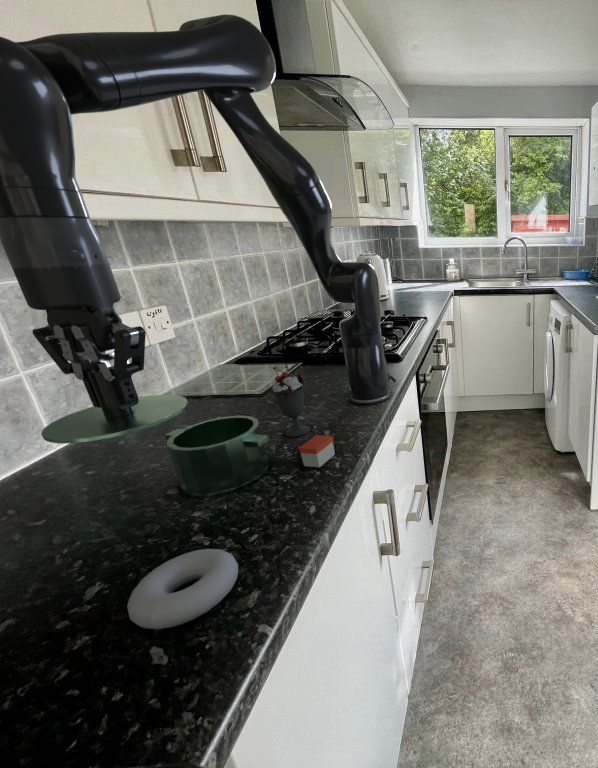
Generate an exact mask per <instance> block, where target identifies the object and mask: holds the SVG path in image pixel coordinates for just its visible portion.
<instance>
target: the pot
mask: <svg viewBox="0 0 598 768" xmlns="http://www.w3.org/2000/svg"><path fill="white" fill-rule="evenodd" d="M164 437H165V439H166V449H167V451H168V454H169V456H170V460H171V462H172V466H173V468H174V471H175V474H176V476H177V479H178V482H179V485H180V488H181V489H182V491H183V492H184V493H185V495H188V496H190V497H195V498H197V497H198V498H204V497H205V498H206V497H215V496H220V495H224V494H225V495H226V494H229V493H232V492H235V491H237V490H240V489H242V488H244V487H247V486H249V485H251V484H252V483H255V482H256V481H258V480H259V479H261V478H262V477H263V476H264V475H265V474H266V473H267V471H268V470H269V468H270V461H269V457H268V454H267V450H266V446H265V444H266V443H268V442H269V441H270V438H269V435H268V434H267V435H266V434H262V431H261V426H260V423H259V419H258V418H256V417H254V416H249V415H231V416H230V415H229V416H221V417H217V418H212V419H208V420H204V421H200V422H198V423H195V424H191V425H189V426H187V427H184V428H176V429H174V430H172V431H169V432H168V433H166V434H164Z"/></svg>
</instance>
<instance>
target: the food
mask: <svg viewBox="0 0 598 768" xmlns="http://www.w3.org/2000/svg"><path fill="white" fill-rule="evenodd" d="M334 447H335V446H334V437H333V435H321V434H316V435H315V436H313V437H311V438H310V439H309V440H307V441H306V442H305V443H303V444H302V445H301V446H299V447H298V451H299V453H300V455H301V459H302V460H301V461H302V464H303V467H307V468H309V467H310V468H321V467H322V466H323V465H324V464H325V463H327V462H328V461H330V460H331V459H332V458H333V457H334V456H335V455H336V453H335V448H334Z"/></svg>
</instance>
